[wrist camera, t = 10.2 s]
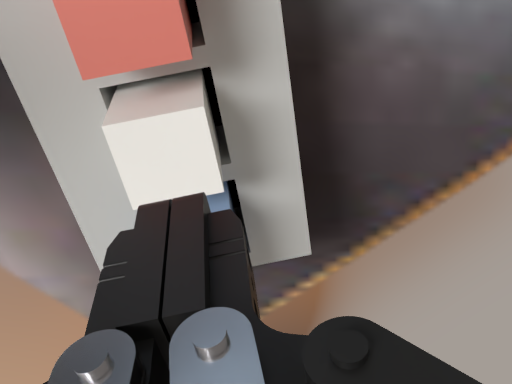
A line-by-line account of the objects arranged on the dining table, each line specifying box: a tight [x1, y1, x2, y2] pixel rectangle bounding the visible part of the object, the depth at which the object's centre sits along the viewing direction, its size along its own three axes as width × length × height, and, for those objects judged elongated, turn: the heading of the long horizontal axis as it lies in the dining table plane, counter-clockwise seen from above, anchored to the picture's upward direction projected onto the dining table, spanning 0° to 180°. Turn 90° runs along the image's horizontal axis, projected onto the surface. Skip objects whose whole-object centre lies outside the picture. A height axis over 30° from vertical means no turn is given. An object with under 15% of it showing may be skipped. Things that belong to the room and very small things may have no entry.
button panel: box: [0, 0, 311, 271], centre depth 20 cm, size 10×16×4 cm, turn 9°
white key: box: [101, 68, 224, 210], centre depth 18 cm, size 3×3×4 cm
